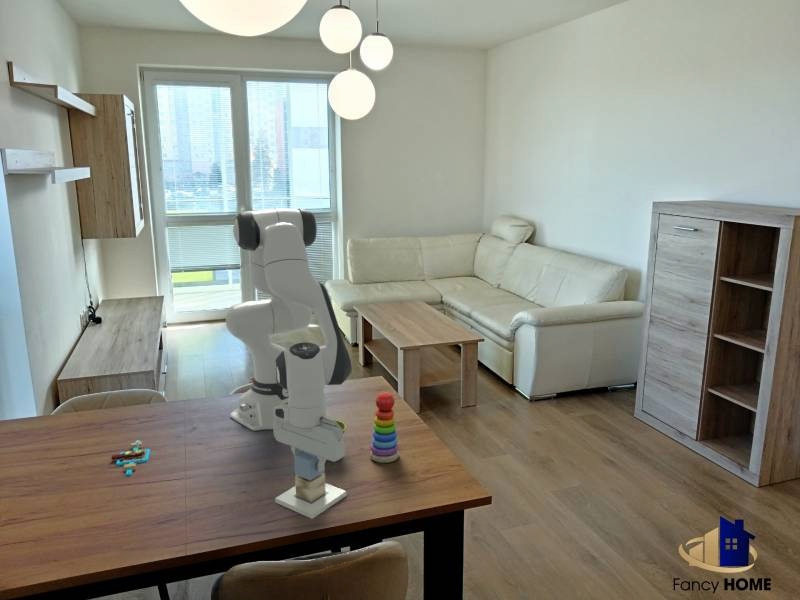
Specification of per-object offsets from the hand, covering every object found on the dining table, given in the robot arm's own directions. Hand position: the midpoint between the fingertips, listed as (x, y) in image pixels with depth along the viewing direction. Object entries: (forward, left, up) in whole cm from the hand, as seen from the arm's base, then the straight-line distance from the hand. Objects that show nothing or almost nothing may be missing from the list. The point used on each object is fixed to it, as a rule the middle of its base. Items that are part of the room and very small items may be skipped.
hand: (309, 466), depth 145 cm
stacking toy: (+2, +27, -9) cm, 28 cm away
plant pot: (-11, +19, -9) cm, 24 cm away
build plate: (0, 0, -9) cm, 9 cm away
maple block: (0, 0, -7) cm, 7 cm away
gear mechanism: (-55, -13, -9) cm, 58 cm away
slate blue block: (0, 0, -2) cm, 2 cm away
